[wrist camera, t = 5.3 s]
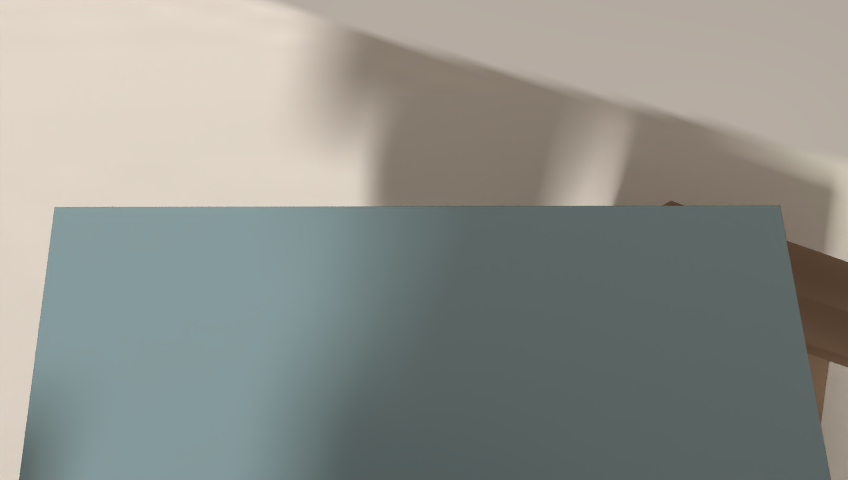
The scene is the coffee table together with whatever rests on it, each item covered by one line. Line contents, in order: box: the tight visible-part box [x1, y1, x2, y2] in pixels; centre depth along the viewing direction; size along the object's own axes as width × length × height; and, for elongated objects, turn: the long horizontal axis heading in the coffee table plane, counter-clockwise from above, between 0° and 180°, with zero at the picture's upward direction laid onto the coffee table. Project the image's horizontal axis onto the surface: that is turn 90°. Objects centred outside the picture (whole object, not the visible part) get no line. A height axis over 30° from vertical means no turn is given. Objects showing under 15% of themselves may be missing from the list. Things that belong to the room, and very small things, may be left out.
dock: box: [663, 201, 848, 424], centre depth 20 cm, size 11×10×6 cm
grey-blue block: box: [19, 206, 831, 480], centre depth 10 cm, size 8×6×11 cm
